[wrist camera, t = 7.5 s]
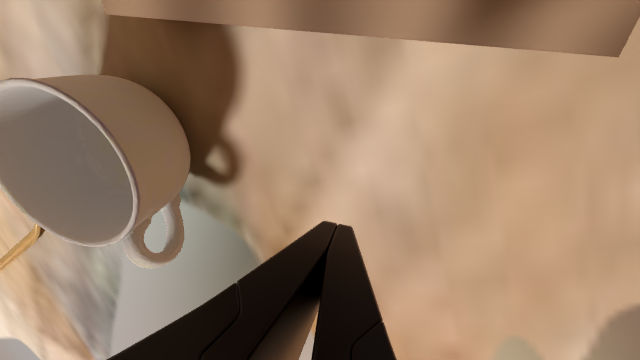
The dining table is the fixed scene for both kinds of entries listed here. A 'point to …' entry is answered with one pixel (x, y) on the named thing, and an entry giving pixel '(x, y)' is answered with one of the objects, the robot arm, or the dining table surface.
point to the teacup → (94, 161)
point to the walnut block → (421, 20)
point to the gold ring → (20, 247)
